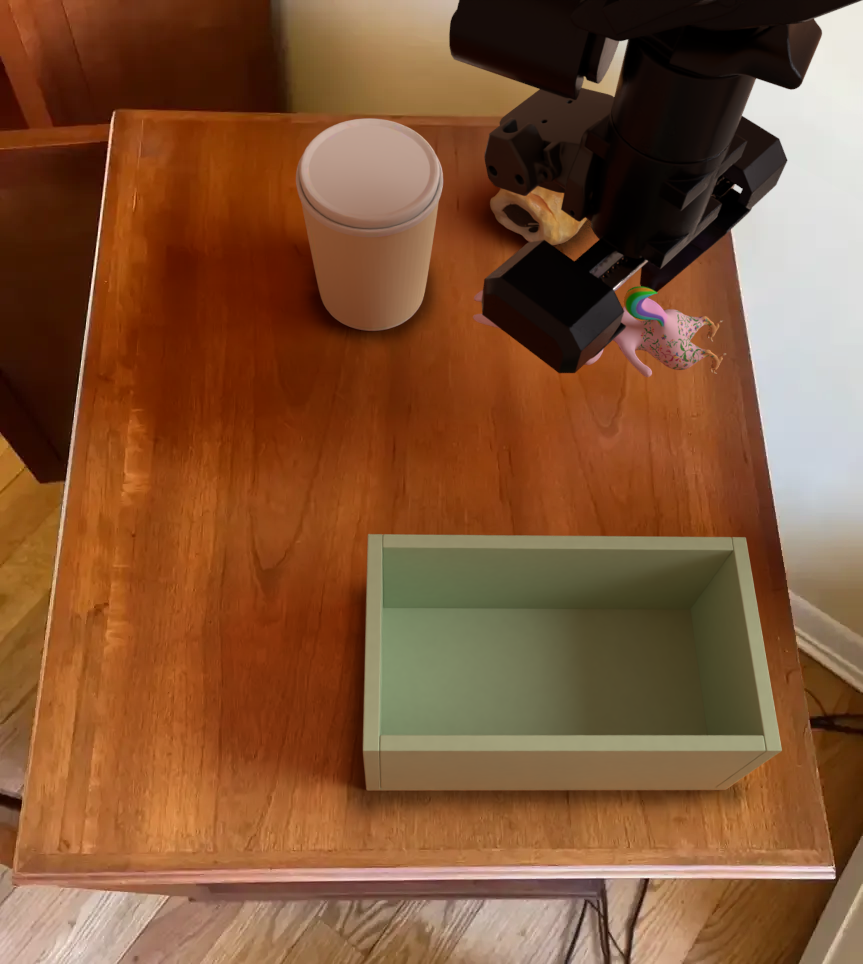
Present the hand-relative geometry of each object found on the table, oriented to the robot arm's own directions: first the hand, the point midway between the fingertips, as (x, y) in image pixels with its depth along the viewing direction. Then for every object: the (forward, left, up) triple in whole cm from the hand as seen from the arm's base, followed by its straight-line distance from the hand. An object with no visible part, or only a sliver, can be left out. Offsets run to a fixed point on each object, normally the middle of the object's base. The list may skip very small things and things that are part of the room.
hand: (608, 325), depth 60 cm
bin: (-10, +16, -11) cm, 22 cm away
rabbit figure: (0, +1, -2) cm, 2 cm away
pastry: (+14, -13, -11) cm, 22 cm away
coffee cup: (+18, +2, -11) cm, 21 cm away
